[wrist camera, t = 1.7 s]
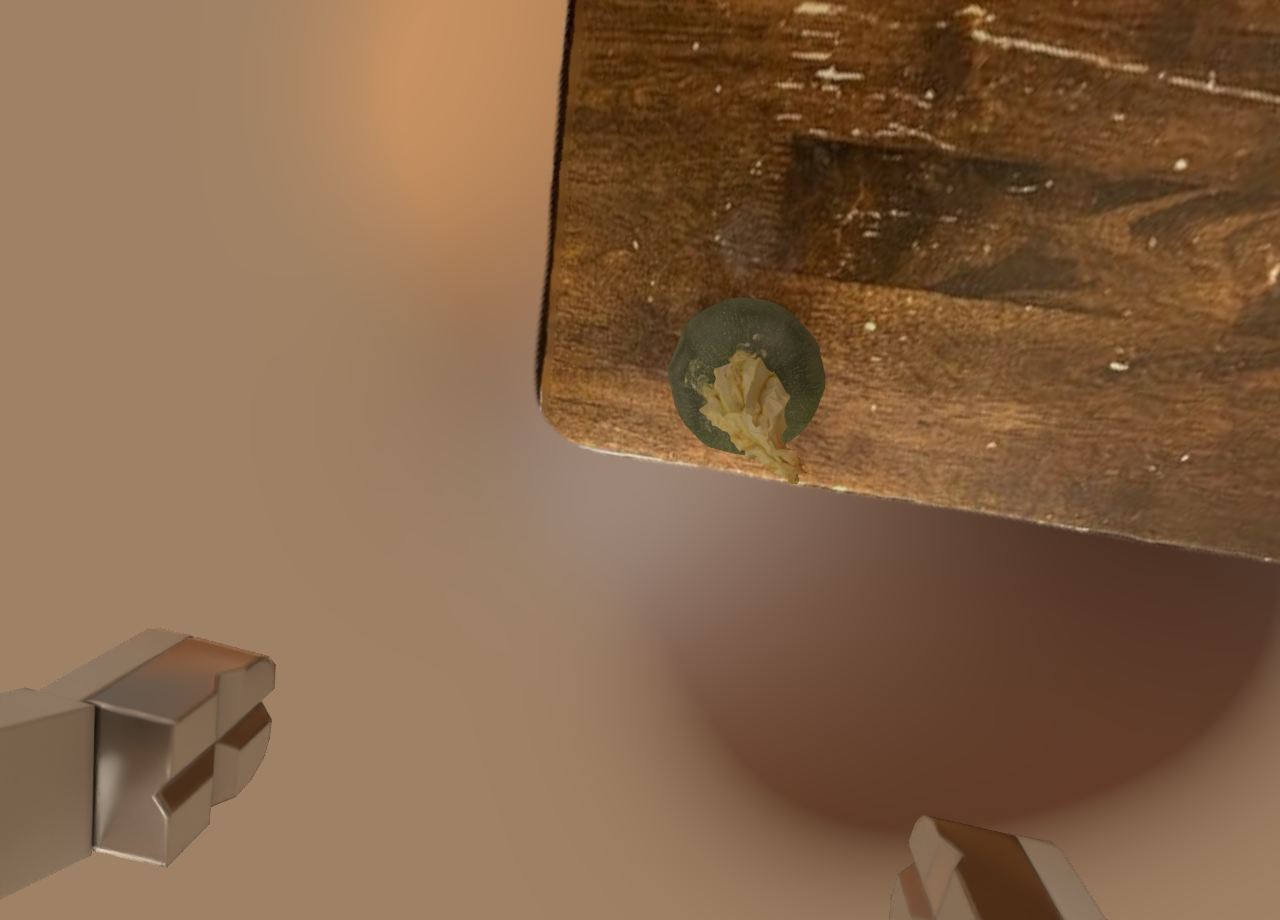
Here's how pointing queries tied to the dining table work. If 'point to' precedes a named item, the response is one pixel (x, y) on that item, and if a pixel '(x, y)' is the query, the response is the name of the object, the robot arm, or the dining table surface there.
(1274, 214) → the dining table surface
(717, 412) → the vegetable
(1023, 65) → the dining table surface
